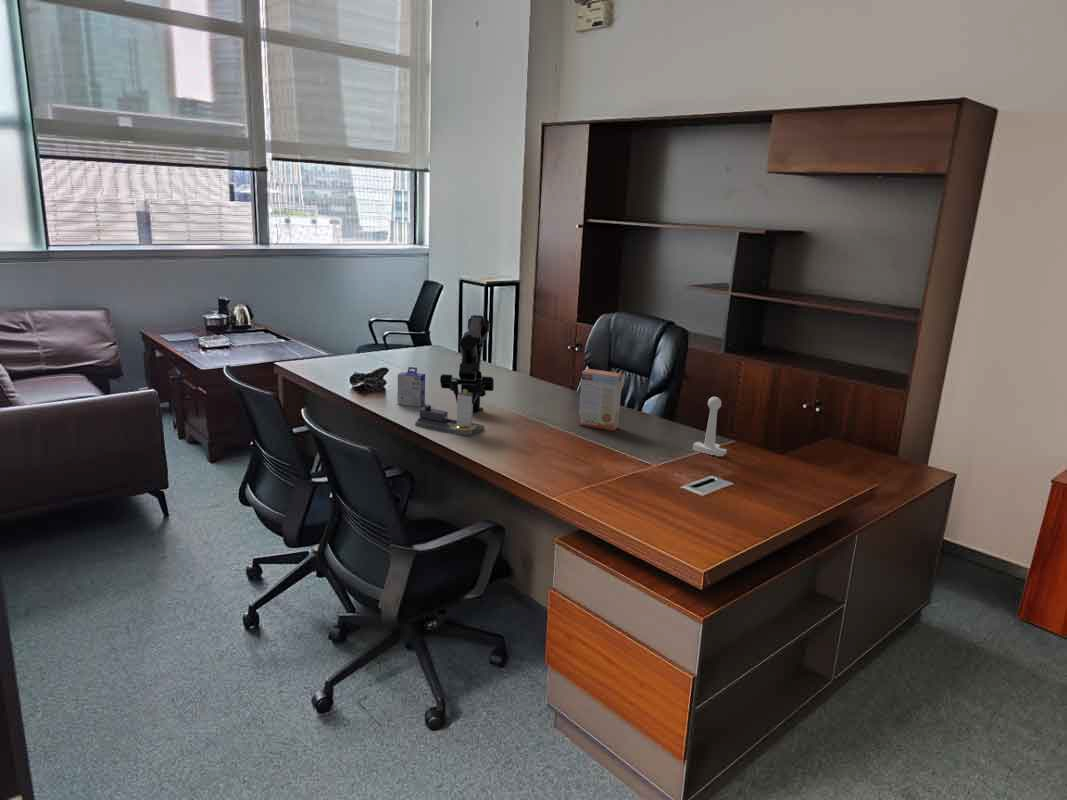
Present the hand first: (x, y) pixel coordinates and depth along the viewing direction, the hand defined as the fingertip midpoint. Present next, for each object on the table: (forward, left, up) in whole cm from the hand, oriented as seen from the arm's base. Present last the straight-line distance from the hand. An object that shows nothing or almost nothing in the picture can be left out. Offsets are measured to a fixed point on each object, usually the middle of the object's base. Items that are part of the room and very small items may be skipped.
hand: (464, 403), depth 257 cm
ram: (-1, -13, -8) cm, 15 cm away
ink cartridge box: (-19, -34, -11) cm, 40 cm away
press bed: (-1, -7, -10) cm, 12 cm away
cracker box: (-33, +39, -11) cm, 52 cm away
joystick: (-27, +82, -11) cm, 87 cm away
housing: (-1, 0, -8) cm, 8 cm away
